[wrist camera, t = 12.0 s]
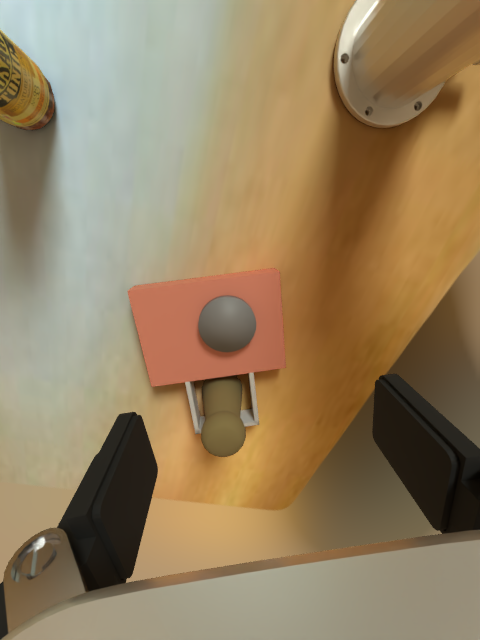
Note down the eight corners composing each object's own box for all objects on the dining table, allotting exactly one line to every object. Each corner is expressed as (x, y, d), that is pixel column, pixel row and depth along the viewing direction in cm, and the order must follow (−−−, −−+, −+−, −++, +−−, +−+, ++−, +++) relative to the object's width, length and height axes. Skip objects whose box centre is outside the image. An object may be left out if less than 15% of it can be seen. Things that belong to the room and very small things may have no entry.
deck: (274, 268, 36) (281, 273, 32) (284, 407, 43) (291, 425, 39) (134, 285, 35) (124, 293, 31) (168, 424, 42) (163, 445, 38)
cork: (204, 369, 40) (199, 419, 29) (245, 373, 40) (255, 424, 30) (199, 404, 42) (193, 464, 31) (239, 408, 42) (246, 467, 32)
